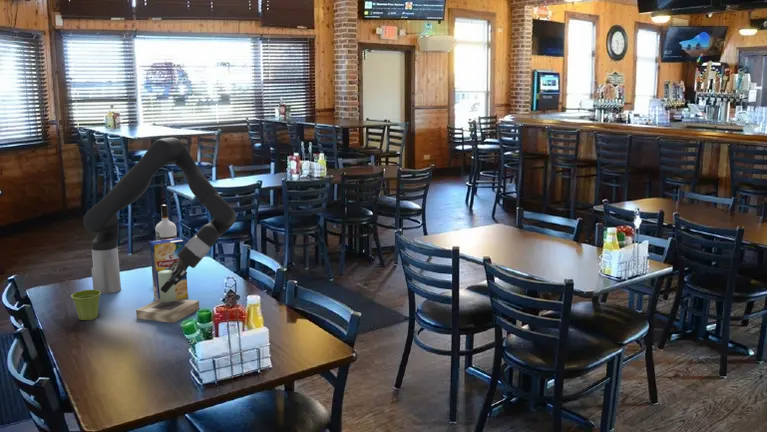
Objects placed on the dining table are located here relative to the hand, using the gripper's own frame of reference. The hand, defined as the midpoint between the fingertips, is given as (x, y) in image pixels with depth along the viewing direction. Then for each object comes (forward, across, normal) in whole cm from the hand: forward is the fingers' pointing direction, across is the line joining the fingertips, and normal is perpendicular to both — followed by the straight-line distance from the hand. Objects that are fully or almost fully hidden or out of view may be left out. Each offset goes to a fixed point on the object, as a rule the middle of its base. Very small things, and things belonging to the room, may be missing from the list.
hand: (161, 288), depth 233 cm
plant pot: (+23, -8, -10) cm, 27 cm away
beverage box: (+3, -18, +10) cm, 21 cm away
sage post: (+2, 0, +4) cm, 5 cm away
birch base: (+5, 0, +8) cm, 9 cm away
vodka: (0, -50, +13) cm, 52 cm away
